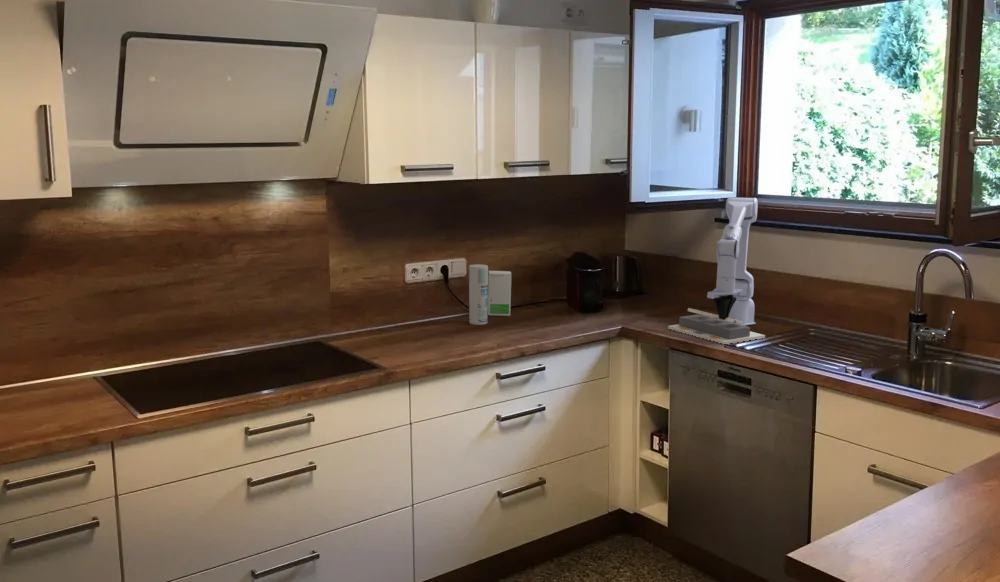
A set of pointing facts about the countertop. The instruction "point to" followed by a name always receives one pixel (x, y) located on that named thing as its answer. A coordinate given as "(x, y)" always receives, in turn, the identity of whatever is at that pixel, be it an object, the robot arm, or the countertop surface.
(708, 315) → the rocker
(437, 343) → the countertop surface
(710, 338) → the switch unit
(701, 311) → the rocker
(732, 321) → the block
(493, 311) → the skincare box
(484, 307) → the spray can
